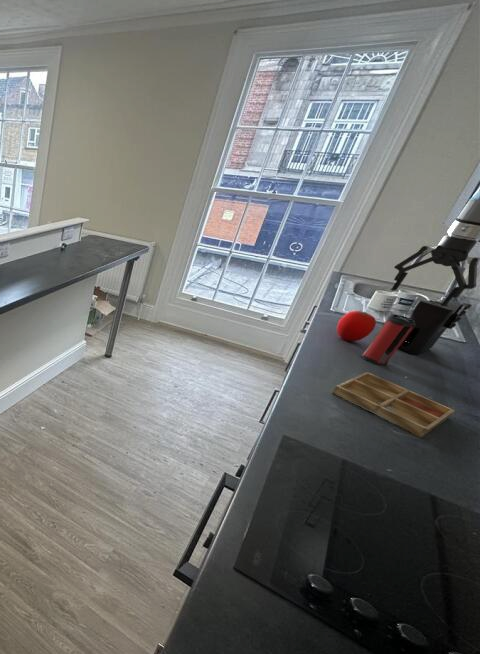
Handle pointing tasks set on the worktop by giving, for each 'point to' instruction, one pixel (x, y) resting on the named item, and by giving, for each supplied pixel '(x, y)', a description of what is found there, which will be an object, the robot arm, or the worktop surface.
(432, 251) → the robot arm
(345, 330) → the red egg shape
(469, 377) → the worktop surface
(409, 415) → the wooden divided tray
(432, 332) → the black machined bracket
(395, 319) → the speaker
